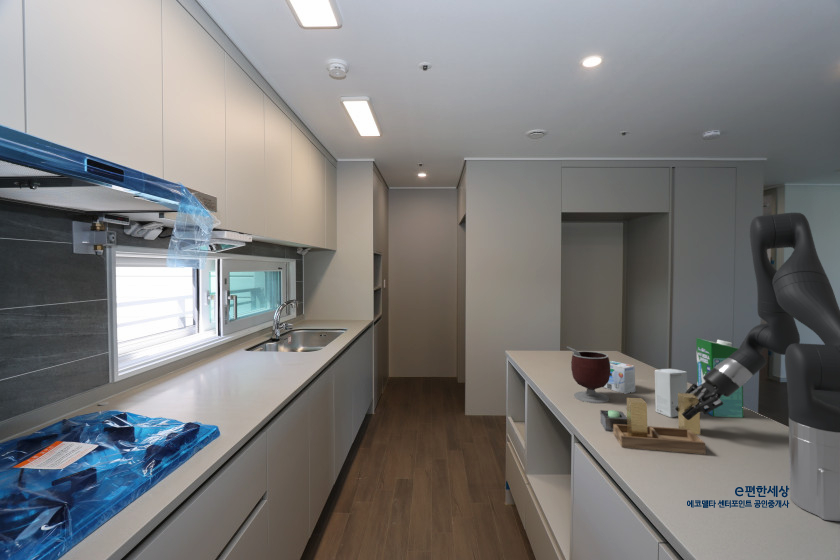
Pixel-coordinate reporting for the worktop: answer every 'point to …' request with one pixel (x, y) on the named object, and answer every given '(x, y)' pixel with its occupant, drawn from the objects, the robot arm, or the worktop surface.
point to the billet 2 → (683, 404)
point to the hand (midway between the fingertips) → (681, 414)
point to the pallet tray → (661, 439)
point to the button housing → (612, 420)
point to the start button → (613, 413)
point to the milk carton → (706, 361)
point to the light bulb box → (621, 377)
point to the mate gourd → (590, 374)
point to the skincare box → (669, 390)
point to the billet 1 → (636, 417)
